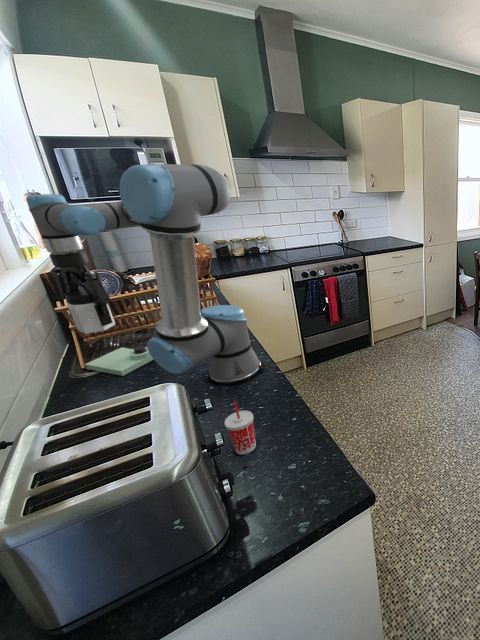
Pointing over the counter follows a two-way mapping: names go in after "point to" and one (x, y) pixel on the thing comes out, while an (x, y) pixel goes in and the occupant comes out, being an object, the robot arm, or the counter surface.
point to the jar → (85, 312)
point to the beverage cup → (241, 430)
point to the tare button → (139, 349)
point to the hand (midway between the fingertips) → (95, 322)
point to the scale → (120, 361)
